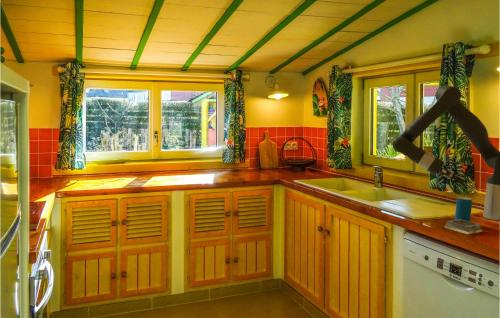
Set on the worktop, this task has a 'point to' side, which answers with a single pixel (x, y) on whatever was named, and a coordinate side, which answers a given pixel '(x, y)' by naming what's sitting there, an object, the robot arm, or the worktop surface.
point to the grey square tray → (463, 226)
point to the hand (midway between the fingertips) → (462, 182)
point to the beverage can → (463, 208)
